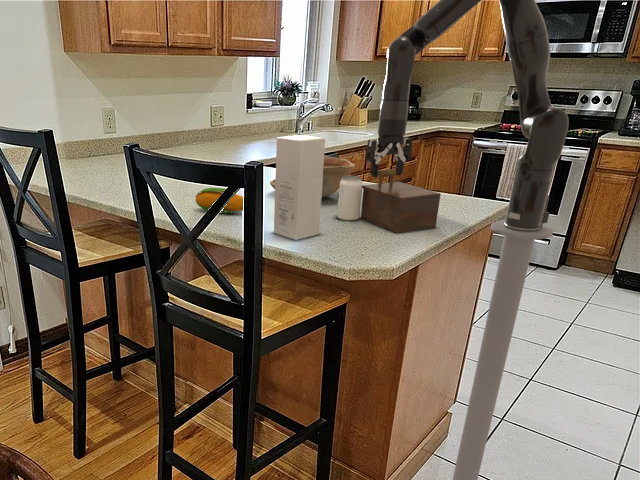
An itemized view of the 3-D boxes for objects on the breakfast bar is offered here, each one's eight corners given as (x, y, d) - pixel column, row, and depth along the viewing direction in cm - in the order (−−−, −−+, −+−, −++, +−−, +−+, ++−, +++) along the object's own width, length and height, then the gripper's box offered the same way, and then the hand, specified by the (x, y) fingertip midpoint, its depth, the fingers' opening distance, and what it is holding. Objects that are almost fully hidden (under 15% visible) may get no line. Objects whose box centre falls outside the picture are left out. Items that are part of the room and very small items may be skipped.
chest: (360, 218, 156) (363, 188, 152) (397, 213, 161) (400, 185, 157) (396, 233, 142) (400, 201, 139) (435, 227, 147) (440, 196, 143)
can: (352, 214, 160) (355, 174, 155) (363, 219, 154) (367, 178, 150) (333, 216, 158) (336, 176, 153) (343, 221, 153) (347, 180, 148)
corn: (201, 182, 166) (260, 187, 159) (202, 205, 170) (260, 211, 162) (190, 188, 160) (251, 194, 153) (192, 212, 164) (251, 219, 156)
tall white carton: (319, 234, 141) (325, 138, 131) (295, 240, 136) (300, 140, 126) (297, 227, 147) (301, 134, 137) (273, 232, 142) (276, 137, 132)
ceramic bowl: (257, 184, 192) (266, 142, 187) (323, 193, 201) (333, 153, 195) (286, 205, 166) (297, 158, 161) (360, 214, 175) (373, 169, 169)
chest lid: (361, 188, 153) (363, 170, 151) (399, 184, 158) (401, 166, 156) (400, 200, 139) (402, 181, 136) (440, 196, 143) (443, 177, 141)
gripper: (380, 119, 140) (374, 180, 147) (422, 117, 145) (414, 176, 152) (364, 117, 146) (358, 175, 153) (404, 115, 152) (397, 172, 158)
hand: (386, 176), depth 152 cm, fingers open, 8 cm apart
